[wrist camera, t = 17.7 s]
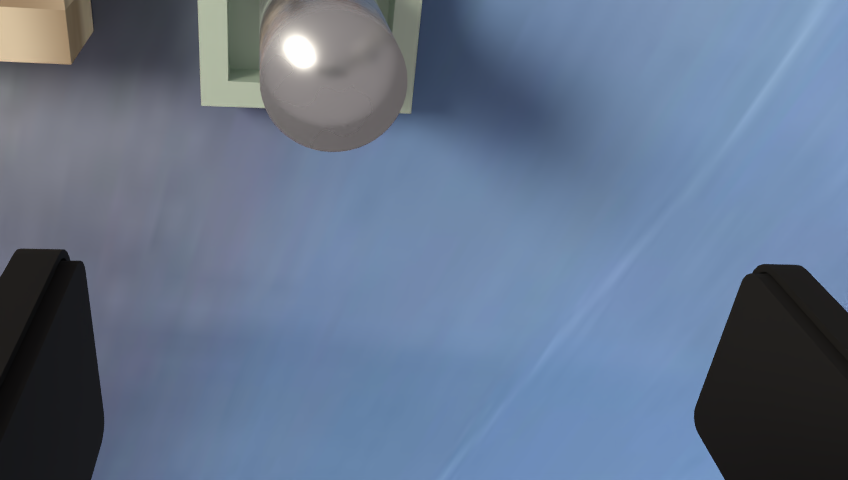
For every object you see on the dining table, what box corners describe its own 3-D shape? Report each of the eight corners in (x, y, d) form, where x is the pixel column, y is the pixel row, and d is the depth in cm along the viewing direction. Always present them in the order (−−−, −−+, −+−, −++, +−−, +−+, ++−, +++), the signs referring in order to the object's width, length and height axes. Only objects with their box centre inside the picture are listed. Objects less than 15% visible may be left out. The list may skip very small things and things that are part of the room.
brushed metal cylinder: (369, -57, 30) (414, 14, 21) (362, 49, 32) (401, 153, 23) (259, -66, 29) (260, 5, 20) (259, 44, 31) (259, 150, 22)
